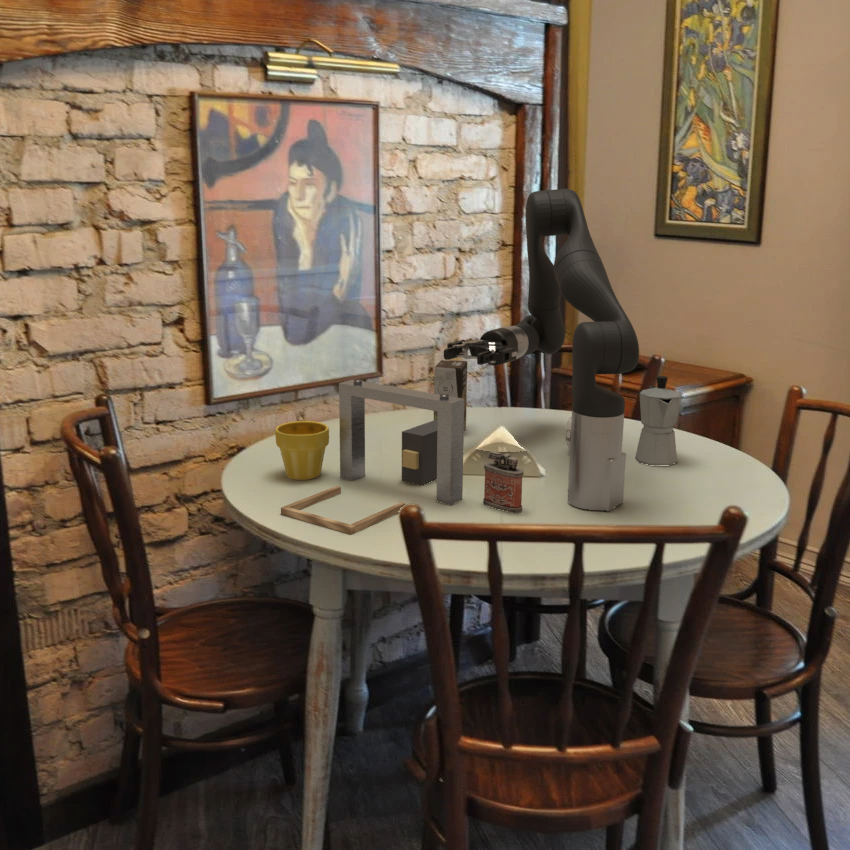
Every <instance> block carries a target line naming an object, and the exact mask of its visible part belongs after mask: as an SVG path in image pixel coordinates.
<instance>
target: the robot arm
mask: <svg viewBox="0 0 850 850" xmlns="http://www.w3.org/2000/svg"><path fill="white" fill-rule="evenodd" d="M525 232H526V233H525V235H526V247H527V248H526V251H527V262H528V263H527V265H528V275H529V276H528V277H529V279H528V281H529V282H528V294H527V310H528V312H529V314H528V315H525V317H524V318H522V319H521V320H520V322H518V323H517V324H514V325H506V326H503V327H499V328H498V327H497V328H494V329H490V330H488V331H486V332H484V333H483V334H482V335H481V337H480V338H479V339H476V340H473V341H466V340H465V339H460V340H457V341H454V342H449V343H447V347H446V348H444V350H443V359H444V360H445V361H450V360H453V359H456V358H463V359H464V360H470V359H471V360H473V359H476V363H477V365H478V366H483V365H485V364H488V365H491V366H495V367H496V366H500V365H505V364H507V363H509V362H513V361H516V360H518V359H519V358H521V357H526V356H528V355H530V354H532V353H534V352H535V351H536V350H537V351H540V353H541V352H542V353H544V354H547V355H553V354H556V353H557V352H559V351H560V349H562V346H563V345H564V342H565V339H566V338H565V336H566V335H565V334H566V333H565V332H566V330H565V324H564V321H563V316H562V310H561V308H560V305H561V296H562V297H563V299H564V300H565V301H567V303H569V304H570V306H572V307H573V308H574V309H576V310H577V311H578V312H580V313H581V314H583V315H584V316H586V317H587V318H589V319H590V320H592V321H582V322H580V323H579V324H577V326H575V329H574V332H573V335H572V349H571V350H572V361H571V362H572V379H571V380H572V381H571V382H572V383H571V384H572V385H571V392H572V393H571V397H572V398H571V399H572V406H571V407H572V408H571V417H572V422H571V441H570V452H569V460H568V461H569V463H568V466H569V467H568V486H567V503H568V504H570V505H571V506H573V507H575V508H579V509H583V510H587V509H588V510H587V511H604V510H606V511H605V512H610V511H612V510H613V508H614V507H615V508H617V507H618V506H620V505H621V504H620V503H622V502H623V503H624V489H625V476H626V459H627V454H626V452H623V435H624V421H625V420H624V419H625V409H626V401H625V397H624V396H623V395H621V394H620V393H618V392H615V391H612V390H609V389H606V388H604V387H602V386H600V385H599V384H597V380H596V375H618V374H625V373H629V372H631V371H633V370H634V369H635V368H636V367H637V365H638V362H639V359H640V346H639V340H638V336H637V333H636V330H635V328H634V327H633V324H632V322H631V319H629V317H628V316H627V314H626V312H625V310H624V309H623V307H622V305H621V303H620V302H619V299H618V298H617V295H616V294H615V291H614V290H613V286H612V284H611V282H610V279H609V277H608V274H607V270H606V268H605V266H604V263H603V261H602V259H601V258H602V257H601V256H600V254H599V252H598V250H597V248H596V245H595V243H594V240H593V238H592V236H591V233H590V231H589V226H588V222H587V219H586V216H585V213H584V209H583V205H582V202H581V199H580V197H579V195H578V193H577V192H576V191H575V190H573V189H569V188H559V189H558V188H557V189H545V190H536V191H533V192H530V193H529V195H528V197H527V199H526V203H525ZM554 236H568V237H567V239H566V241H564V243H563V244H562V246H561V247H560V250H559V251H558V253H557V254H556V257H555V260H554V263H553V262H552V261H551V259H550V258H549V256H548V255H547V252H546V251H545V249H544V245H543V240H542V239H543V237H554ZM469 353H470V354H469ZM623 503H622V504H623ZM619 504H620V505H619ZM617 505H618V506H617ZM616 506H617V507H616ZM615 508H614V509H615ZM611 509H612V510H611ZM609 510H610V511H609Z"/></svg>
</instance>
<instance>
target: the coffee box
mask: <svg viewBox="0 0 850 850" xmlns="http://www.w3.org/2000/svg"><path fill="white" fill-rule="evenodd" d="M433 378H434V380H433V386H434V387H433V394H439V395H441V394H447V395H449V396H450V397H456V398H462V399H464V431H465V430H466V429H467V404H468V403H467V401H468V400H467V394H468V361H467V360H453V359H450V360H445V359H444V360H443V359H442V360H440V361H439V362H438V363H437V364H436V365H435V366H434V377H433ZM437 419H438V412H437V411H433V421H434V420H437Z"/></svg>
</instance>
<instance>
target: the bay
mask: <svg viewBox="0 0 850 850" xmlns="http://www.w3.org/2000/svg"><path fill="white" fill-rule="evenodd" d="M341 493H342V487H341V486H339V485H336V486H333V487H330V488H328V489H325V490H323V491H320V492H317V493H315V494H313V495H310V496H307V497H305V498H302V499H299V500H297V501H294V502H292V503H289V504H287V505H284V506H282V507H280V515H283V516H287V517H289V518H293V519H296V520H300V521H303V522H306V523H311V524H314V525H317V526H320V527H324V528H327V529H331V530H335V531H338V532H342V533H345V534H348V535H353V534H356V533H357V532H359V531H362V530H364V529H366V528H368V527H370V526H373V525H375V524H377V523H379V522H382V521H384V520H386V519H388V518H390V517H393V516H395V515H397V514H399V513H398V511H399V510H400V508H401V507H403V506H404V505H405V506H406V503H405V502H398V503H396V504H394V505H392V506H389V507H387V508H385V509H383V510H381V511H378V512H376V513H374V514H372V515H369V516H367V517H364V518H362V519H360V520H358V521H355V522H353V523H351V524H349V523H347V522H346V523H345V522H342V521H339V520H335V519H332V518H328V517H324V516H321V515H319V514H318V515H317V514H315V513H311V512H308V511H307V512H306V511H303V510H302V509H305V508H307V507H310V506H312V505H314V504H317V503H320V502H322V501H325V500H327V499H329V498H332V497H335V496H337V495H338V496H339V494H341ZM394 514H395V515H394ZM392 515H393V516H392Z"/></svg>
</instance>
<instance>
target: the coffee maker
mask: <svg viewBox="0 0 850 850" xmlns="http://www.w3.org/2000/svg"><path fill="white" fill-rule="evenodd" d="M668 378H669V377H668V376H664V375H657V376H656V386H655V385H649V386H648V388H647V389H642V390H641V391H640V392H639V406H640V421H641V424H642V425H643V426H642V428H641V430H640V435H639V439H638V442H637V443H638V444H637V448H636V452H635V456H634V459H635V460H636V462H637V461H638V462H639V463H638V462H637V463H638V464H641V463H643V464H642V465H645V464H648V465H647V466H649V465H671V464H673V463H676V462H677V463H678V457H677V456H678V455H677V445H676V444H677V443H676V435H675V434H676V433H675V431H674V427H675V425H676V423H677V420H678V416H679V411H680V406H681V403H682V397H683V393H682V392H678V391H676V390H672V389H670V388H666V387H667V383H668ZM677 463H676V464H677ZM671 466H672V465H671Z"/></svg>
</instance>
